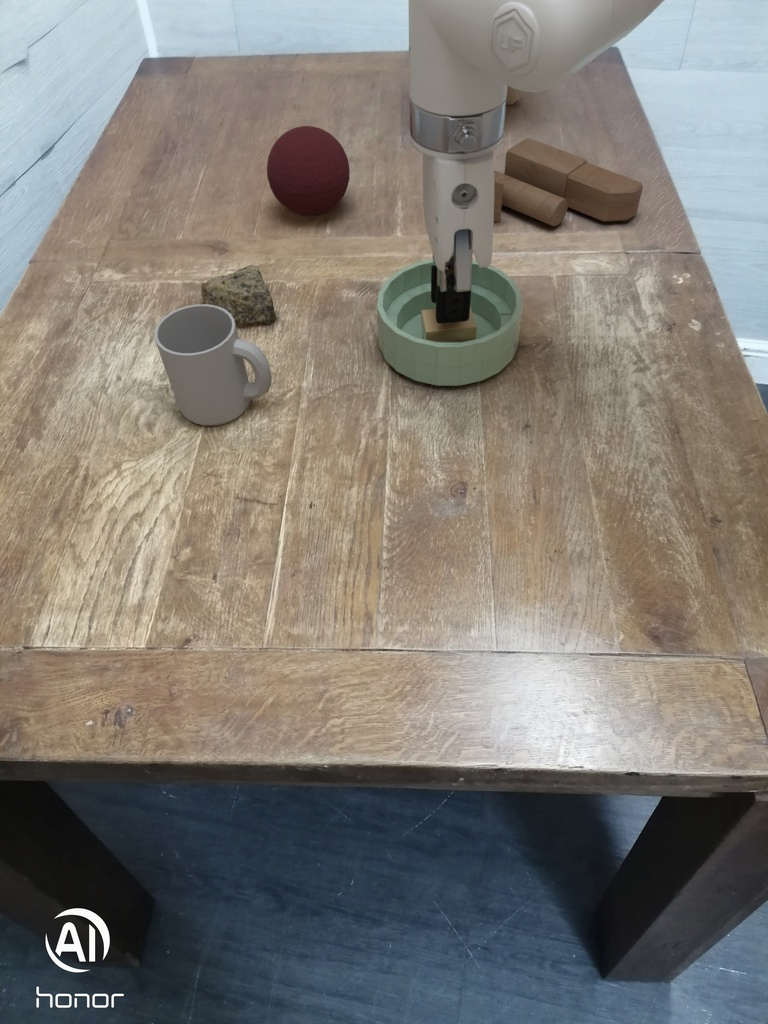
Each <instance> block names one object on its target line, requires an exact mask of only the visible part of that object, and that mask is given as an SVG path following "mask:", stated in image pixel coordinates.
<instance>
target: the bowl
mask: <svg viewBox="0 0 768 1024" xmlns="http://www.w3.org/2000/svg"><path fill="white" fill-rule="evenodd" d="M432 265H436V264H434V263H433V258H430V259H426V260H421V261H420V260H419V261H417V262H414V263H412V264H410V265H407V266H405V267H402V268H400V269H398V270H397V271H396V272H395V273H394V274H392V275H391V276H390V277H388V278H387V279H386V280H385V282H384V283H383V284H382V286H381V288H380V289H379V291H378V293H377V300H376V314H377V315H376V317H377V334H378V347H379V349H380V352H381V354H382V356H383V359H384V360H385V361H386V363H388V364H389V365H390V366H391V367H392V368H393V369H394V370H395V371H396V372H397V373H399V374H401V375H403V376H405V377H407V378H409V379H411V380H413V381H415V382H420V383H424V384H429V385H433V386H439V387H441V386H446V387H447V386H448V387H449V386H450V387H451V386H452V387H455V386H457V387H459V386H463V385H468V384H474V383H478V382H481V381H482V382H483V381H484V380H486V379H489V378H490V377H492V376H494V375H496V374H499V373H500V372H502V370H503V369H505V367H506V366H507V365H508V364H510V362H512V361H513V359H514V357H515V354H516V352H517V349H518V347H519V340H520V332H521V324H522V316H523V315H522V314H523V309H524V307H523V306H524V305H523V296H522V294H523V293H522V291H521V290H520V288H519V287H518V285H517V283H516V282H515V280H514V279H513V278H512V277H510V276H509V275H508V274H506V272H504V271H503V270H501V269H499V268H497V267H495V266H492V265H490V266H489V267H488V268H479V266H478V263H477V261H476V260H475V259H472V275H471V299H470V306H471V309H472V312H473V316H474V319H475V323H476V326H477V331H476V339H475V340H470V341H465V342H434V341H429V340H424V339H422V327H421V310H428V309H436V303H433V302H432V300H431V266H432Z"/></svg>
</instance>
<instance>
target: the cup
mask: <svg viewBox="0 0 768 1024" xmlns="http://www.w3.org/2000/svg"><path fill="white" fill-rule="evenodd" d="M154 340H155V344H156V347H157V349H158V353H159V355H160V359H161V362H162V364H163V368H164V370H165V373H166V376H167V378H168V382H169V385H170V387H171V391H172V394H173V396H174V399H175V403H176V404H177V407H178V409H179V411H180V413H181V415H182V416H183V417H184V418H185V419H187V420H188V421H190V422H192V423H194V424H196V425H199V426H204V427H215V426H220V425H225V424H227V423H231V422H232V421H234V420H236V419H237V418H239V417H240V416H241V415H242V414H243V413H244V412H245V411H246V409H247V408H248V406H249V404H250V403H251V400H257V399H260V398H261V397H263V396H264V395H266V394H267V393H268V392H269V391H270V389H271V387H272V379H273V378H272V377H273V376H272V372H271V367H270V362H269V360H268V358H267V356H266V355H265V353H264V352H263V351H262V349H261V348H260V347H258V346H257V345H256V344H255V343H253V342H251V341H248V340H246V339H241V338H239V334H238V329H237V325H236V321H235V320H234V318H233V317H232V315H231V314H230V313H229V312H228V311H227V310H225V309H223V308H221V307H218V306H214V305H209V304H204V303H203V304H202V303H199V304H190V305H186V306H183V307H180V308H177V309H175V310H173V311H171V312H170V313H168V314H166V315H165V316H164V317H163V318H162V319H161V320H160V321H159V322H158V324H157V325H156V327H155V330H154ZM245 361H247V362H248V364H249V365H250V367H251V369H252V371H253V374H254V381H250V380H249V377H248V373H247V368H246V363H245Z"/></svg>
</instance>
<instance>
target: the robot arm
mask: <svg viewBox="0 0 768 1024" xmlns="http://www.w3.org/2000/svg"><path fill="white" fill-rule="evenodd" d="M664 1H665V0H408V83H409V84H408V87H409V88H408V91H409V92H408V95H409V96H408V97H409V100H408V102H409V141H410V144H411V146H412V147H413V148H414V149H415V150H417V151H418V152H419V153H421V154H422V206H423V216H424V217H423V218H424V223H425V228H426V233H427V237H428V241H429V244H430V248H431V252H432V259H433V263H434V264H436V265H432V266H431V300H432V302H433V303H436V322H437V323H439V324H442V323H452V322H463V321H467V320H468V319H469V315H470V299H471V275H472V260H473V257H474V258H475V261H477V263H478V266H479V268H488V267H489V266H492V262H493V247H494V246H493V245H494V244H493V243H494V223H495V222H494V170H495V163H494V161H495V160H494V159H495V158H494V152H495V151H496V150H497V149H498V148H499V147H500V146H501V145H502V143H503V141H504V133H505V132H504V131H505V122H506V111H507V104H506V100H507V88H508V86H510V87H512V88H514V89H517V91H520V92H524V93H543V92H546V91H550V90H552V89H554V88H555V87H557V86H560V85H561V84H563V83H565V82H566V81H567V80H568V79H570V78H572V76H574V75H576V74H577V73H578V72H579V71H581V70H582V69H584V68H585V67H587V65H588V64H590V63H592V62H593V61H594V60H595V59H596V58H598V57H599V56H600V55H602V54H603V53H605V51H607V50H608V49H610V48H611V47H613V46H614V45H616V44H617V43H618V42H620V41H621V40H623V39H624V38H626V37H627V36H628V35H629V34H631V32H633V31H634V30H636V28H637V27H638V26H640V25H641V24H642V23H643V22H644V21H645V20H646V19H647V18H648V17H649V16H650V15H652V13H653V12H655V10H657V9H658V7H659V6H660V5H662V3H664ZM437 268H438V269H439V270H440V285H439V286H437ZM451 268H454V274H449V275H448V276H447V269H451Z"/></svg>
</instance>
